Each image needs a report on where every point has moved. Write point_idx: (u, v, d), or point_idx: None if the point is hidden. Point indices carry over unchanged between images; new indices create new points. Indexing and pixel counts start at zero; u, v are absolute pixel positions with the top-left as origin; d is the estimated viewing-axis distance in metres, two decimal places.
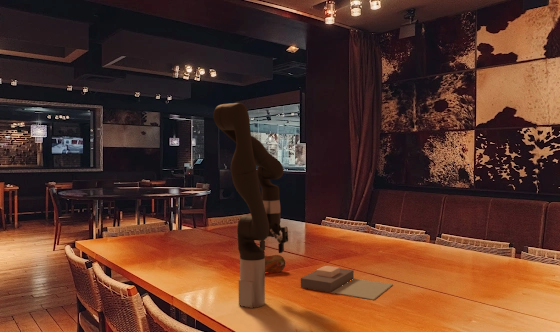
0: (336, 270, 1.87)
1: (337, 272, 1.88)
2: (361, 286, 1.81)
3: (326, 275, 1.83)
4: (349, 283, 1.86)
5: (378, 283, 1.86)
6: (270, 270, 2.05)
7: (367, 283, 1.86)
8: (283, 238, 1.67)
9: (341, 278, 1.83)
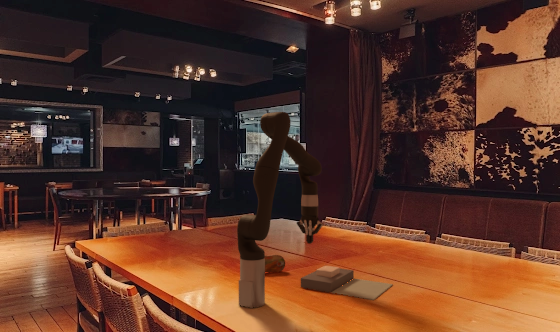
0: (336, 270, 1.87)
1: (337, 272, 1.88)
2: (361, 286, 1.81)
3: (326, 275, 1.83)
4: (349, 283, 1.86)
5: (378, 283, 1.86)
6: (270, 270, 2.05)
7: (367, 283, 1.86)
8: (315, 231, 1.89)
9: (341, 278, 1.83)
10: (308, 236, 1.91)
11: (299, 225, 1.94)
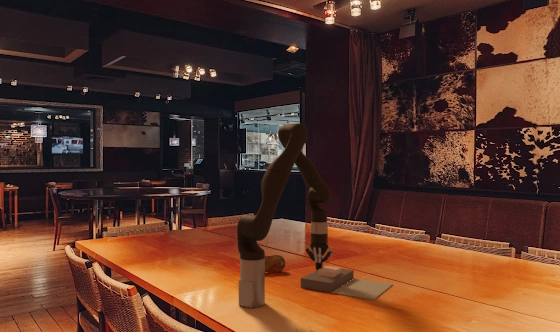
0: (337, 270, 1.86)
1: (338, 272, 1.87)
2: (361, 286, 1.81)
3: (328, 275, 1.83)
4: (349, 283, 1.86)
5: (378, 283, 1.86)
6: (270, 270, 2.05)
7: (367, 283, 1.86)
8: (324, 258, 1.87)
9: (341, 278, 1.83)
10: (317, 264, 1.89)
11: (308, 252, 1.91)
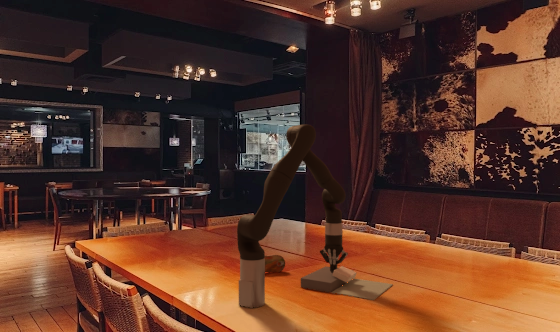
0: (353, 275, 1.83)
1: (353, 277, 1.84)
2: (361, 286, 1.81)
3: (342, 279, 1.79)
4: (349, 283, 1.86)
5: (378, 283, 1.86)
6: (270, 270, 2.05)
7: (367, 283, 1.86)
8: (339, 260, 1.84)
9: None
10: (332, 265, 1.85)
11: (322, 254, 1.88)
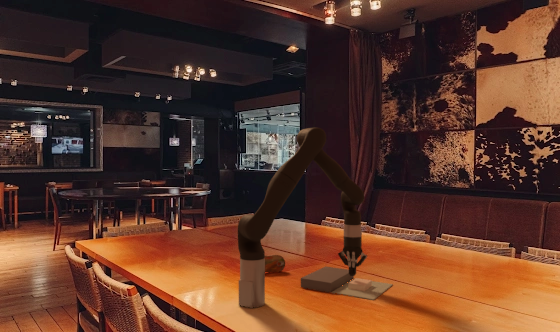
0: None
1: None
2: None
3: (353, 285, 1.77)
4: None
5: (378, 283, 1.86)
6: (270, 270, 2.05)
7: None
8: (358, 263, 1.79)
9: (341, 278, 1.83)
10: (351, 268, 1.81)
11: (341, 256, 1.83)
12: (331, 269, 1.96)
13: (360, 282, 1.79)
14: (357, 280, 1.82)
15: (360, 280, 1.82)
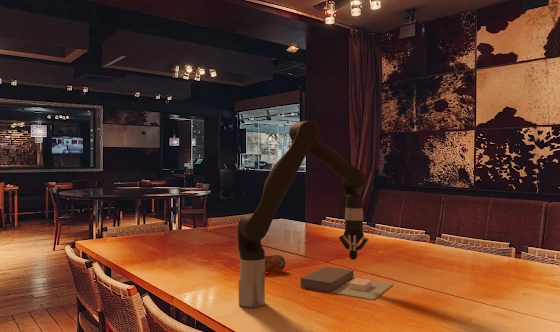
0: None
1: None
2: None
3: (353, 285, 1.77)
4: None
5: (378, 283, 1.86)
6: (270, 270, 2.05)
7: None
8: (359, 246, 1.78)
9: (341, 278, 1.83)
10: (352, 252, 1.80)
11: (342, 240, 1.83)
12: (331, 269, 1.96)
13: (360, 282, 1.79)
14: (357, 280, 1.82)
15: (360, 280, 1.82)
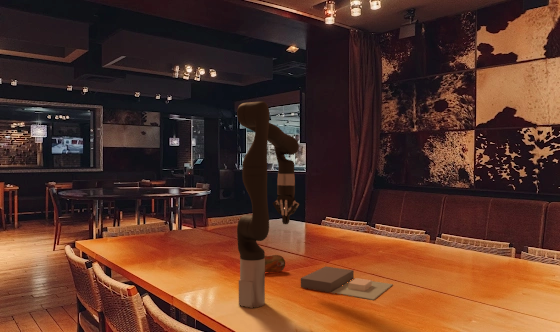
0: None
1: None
2: None
3: (353, 285, 1.77)
4: None
5: (378, 283, 1.86)
6: (270, 270, 2.05)
7: None
8: (290, 211, 1.83)
9: (341, 278, 1.83)
10: (284, 216, 1.85)
11: (275, 205, 1.88)
12: (331, 269, 1.96)
13: (360, 282, 1.79)
14: (357, 280, 1.82)
15: (360, 280, 1.82)
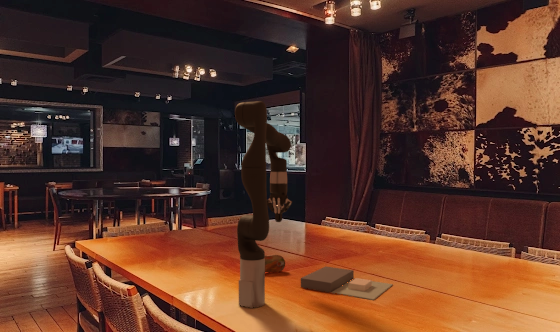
0: None
1: None
2: None
3: (353, 285, 1.77)
4: None
5: (378, 283, 1.86)
6: (270, 270, 2.05)
7: None
8: (283, 209, 1.84)
9: (341, 278, 1.83)
10: (277, 214, 1.86)
11: (268, 203, 1.88)
12: (331, 269, 1.96)
13: (360, 282, 1.79)
14: (357, 280, 1.82)
15: (360, 280, 1.82)
